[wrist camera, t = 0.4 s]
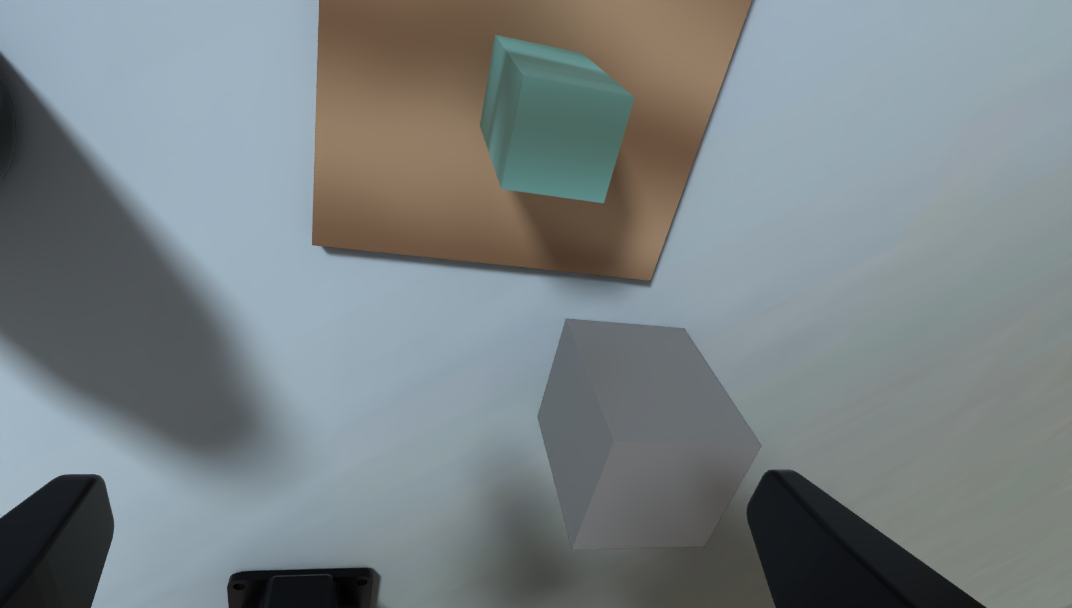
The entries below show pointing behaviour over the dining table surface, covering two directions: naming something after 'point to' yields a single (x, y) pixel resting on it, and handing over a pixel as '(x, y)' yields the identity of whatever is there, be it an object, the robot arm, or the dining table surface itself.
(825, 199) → the dining table surface
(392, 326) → the dining table surface
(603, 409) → the grey rectangular block
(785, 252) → the dining table surface
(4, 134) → the supplement bottle
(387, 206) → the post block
